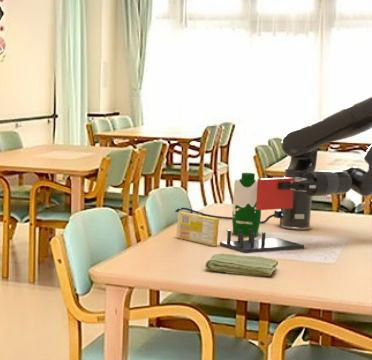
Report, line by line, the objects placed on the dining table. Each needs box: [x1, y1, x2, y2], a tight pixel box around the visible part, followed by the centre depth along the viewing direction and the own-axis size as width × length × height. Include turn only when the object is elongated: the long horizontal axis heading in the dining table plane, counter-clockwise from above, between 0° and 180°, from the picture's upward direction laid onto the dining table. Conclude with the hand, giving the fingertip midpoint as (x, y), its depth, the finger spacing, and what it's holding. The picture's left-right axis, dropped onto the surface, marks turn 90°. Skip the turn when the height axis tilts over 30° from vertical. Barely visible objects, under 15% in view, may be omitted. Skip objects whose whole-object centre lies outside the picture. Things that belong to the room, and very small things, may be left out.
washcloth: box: [204, 253, 279, 277], centre depth 243 cm, size 13×18×3 cm
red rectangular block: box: [256, 177, 294, 211], centre depth 273 cm, size 2×12×9 cm, turn 117°
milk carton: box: [231, 172, 262, 237], centre depth 297 cm, size 9×9×20 cm
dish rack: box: [219, 229, 305, 254], centre depth 277 cm, size 12×22×5 cm, turn 116°
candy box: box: [176, 211, 220, 247], centre depth 283 cm, size 16×2×8 cm, turn 35°
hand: (275, 185), depth 273 cm, fingers closed on red rectangular block, 2 cm apart
